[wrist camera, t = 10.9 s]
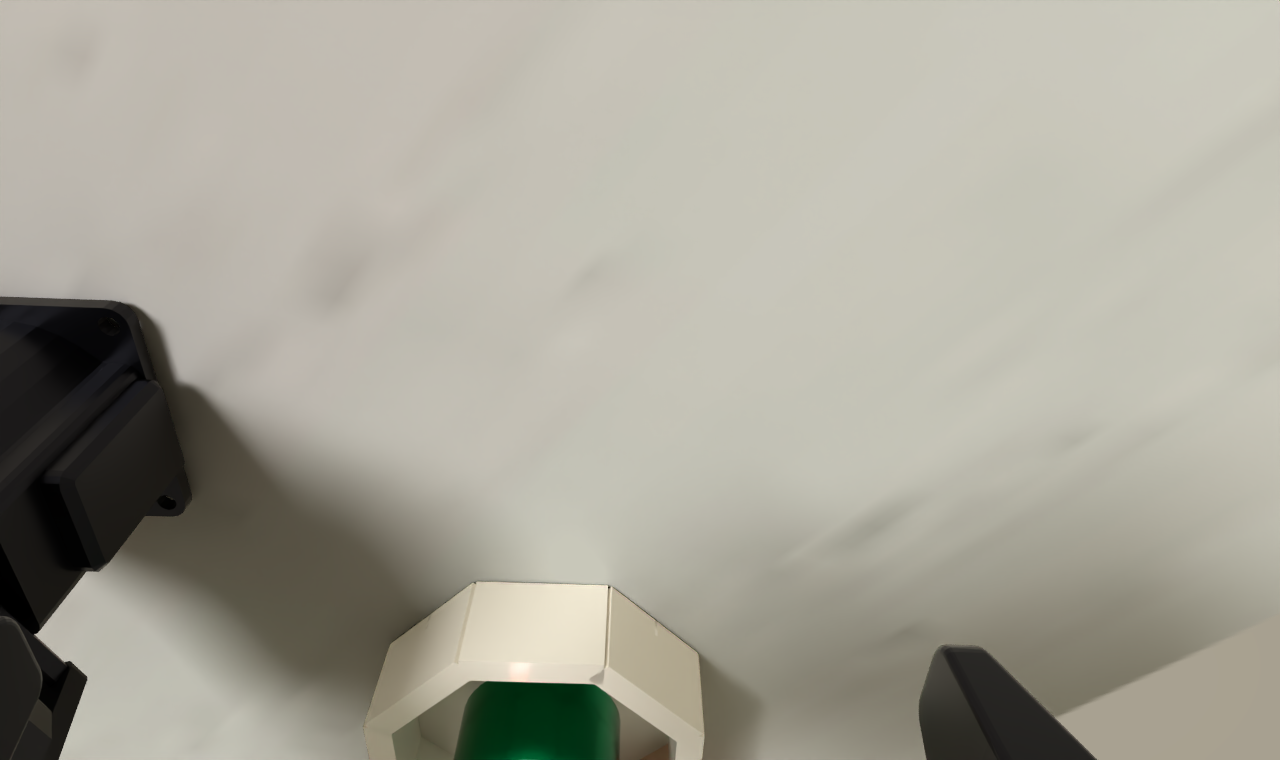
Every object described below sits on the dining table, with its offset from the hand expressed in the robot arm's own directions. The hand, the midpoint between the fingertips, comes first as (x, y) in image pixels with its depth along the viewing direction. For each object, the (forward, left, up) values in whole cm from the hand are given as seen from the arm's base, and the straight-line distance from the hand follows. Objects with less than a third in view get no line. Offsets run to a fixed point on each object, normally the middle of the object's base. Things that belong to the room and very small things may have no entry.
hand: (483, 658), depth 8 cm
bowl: (-1, -17, -13) cm, 21 cm away
